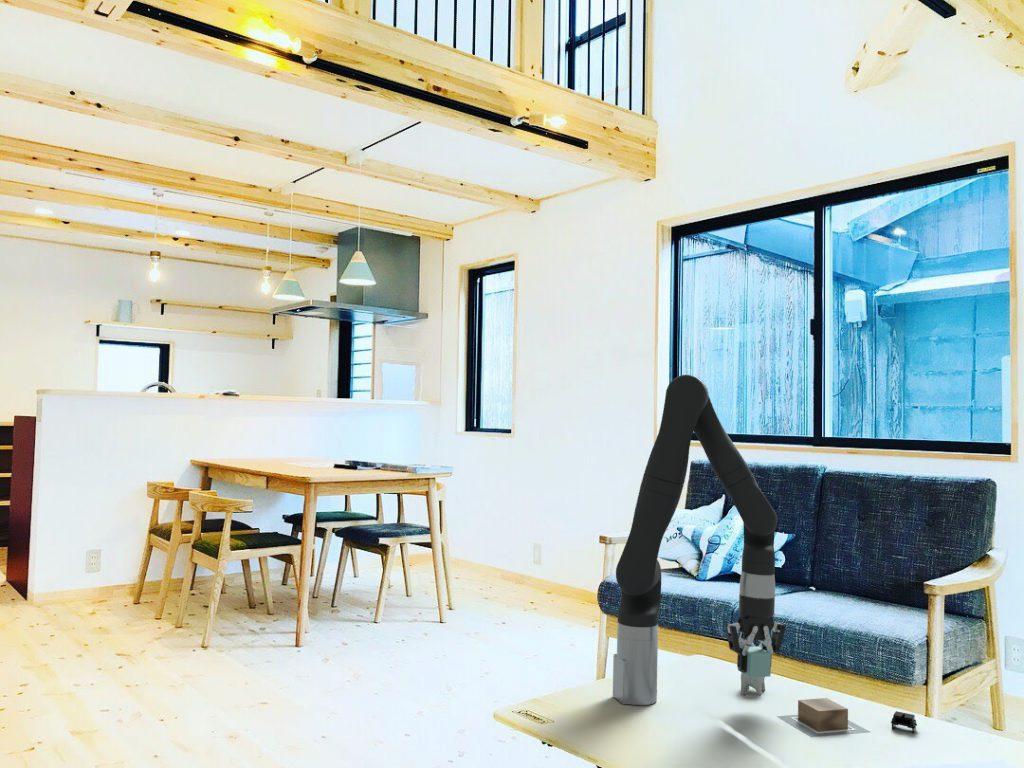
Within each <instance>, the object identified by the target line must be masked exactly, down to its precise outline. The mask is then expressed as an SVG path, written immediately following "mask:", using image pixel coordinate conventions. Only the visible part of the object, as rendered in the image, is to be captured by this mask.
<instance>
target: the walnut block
mask: <svg viewBox="0 0 1024 768" xmlns="http://www.w3.org/2000/svg"><path fill="white" fill-rule="evenodd" d="M797 715H798V720H800V721H802V722H804V723H805V724H807V725H809V726H811V727H812V728H814V729H816V730H817V731H826V730H838V729H848V720H849V708H847V707H845V706H844V705H841V704H839V703H837V702H835V701H833V700H831V699H830V698H828V697H824V698H808V699H798V700H797Z"/></svg>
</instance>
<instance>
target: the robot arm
mask: <svg viewBox="0 0 1024 768" xmlns="http://www.w3.org/2000/svg"><path fill="white" fill-rule="evenodd" d="M664 397H665V398H664V404H663V410H662V411H663V412H662V414H661V415H662V416H661V422H660V425H659V430H658V433H657V436H656V439H655V442H654V444H653V446H652V449H651V452H650V455H649V456H648V461H647V463H646V466H645V470H644V473H643V476H642V480H641V483H640V488H639V490H638V495H637V499H636V504H635V509H634V512H633V517H632V518H633V519H632V523H631V528H630V531H629V534H628V537H627V541H626V542H625V545H624V548H623V550H622V552H621V555H620V557H619V560H618V563H617V565H616V568H615V579H616V582H617V584H618V587H619V588H620V590H621V594H620V595H621V596H620V603H619V606H618V608H617V609H618V610H617V631H616V632H617V633H616V635H617V636H616V637H617V638H616V653H614V654H613V659H612V660H613V663H612V664H613V665H612V696H613V698H615V699H616V701H617V700H619V702H620V703H621V704H622V705H633V706H648V705H653V704H655V703H657V699H658V697H657V696H658V655H659V654H658V651H659V650H658V648H659V647H658V645H659V644H658V643H659V642H658V641H659V615H660V610H661V600H662V599H661V598H662V568H661V565H660V561H659V559H658V557H659V552H660V548H661V544H662V541H663V538H664V537H665V536H664V535H665V533H666V531H667V529H668V527H669V525H670V523H671V521H672V519H673V517H674V515H675V512H676V509H677V507H678V505H679V503H680V499H681V497H682V496H681V495H682V493H683V489H684V485H685V481H686V477H687V473H688V466H689V459H690V457H689V455H690V447H691V441H692V437H693V435H694V434H695V436H696V438H697V440H698V441H699V443H700V445H701V447H702V449H703V451H704V453H705V455H706V457H707V460H708V461H709V464H710V466H711V469H712V470H713V471H714V474H715V475H716V477H717V479H718V480H719V483H721V486H722V487H723V489H724V490H725V492H726V494H727V495H728V496H729V497H730V499H731V501H732V502H733V504H734V507H735V509H736V510H737V512H738V514H739V516H740V518H741V520H742V523H743V549H742V555H741V557H742V558H741V572H740V573H741V574H740V579H739V596H738V597H739V598H738V614H739V617H738V619H737V622H733V623H728V622H727V623H726V624H725V629H726V630H725V631H726V637H727V642H728V643H727V644H728V648H729V650H730V651H733V652H734V653H736V654H737V659H736V660H737V664H736V667H737V669H738V668H739V670H740V671H741V672H740V671H739V672H740V673H742V672H743V673H746V672H747V656H746V655H747V652H748V650H749V647H750V646H751V645H752V643H754V641H755V642H756V641H758V643H760V644H761V647H762V649H764V650H766V651H768V652H770V653H771V662H772V659H773V658H772V656H773V654H774V653H775V652H780V651H781V649H782V645H783V644H782V643H783V640H784V637H785V632H786V624H783V623H780V622H779V621H778V622H777V621H776V622H775V620H774V618H773V617H774V616H775V601H776V600H775V599H776V578H775V572H776V570H775V569H776V568H775V567H776V554H775V536H776V535H775V533H776V528H777V524H778V515H777V513H776V511H775V509H774V508H773V506H772V505H771V503H770V502H769V500H768V499H767V497H766V496H765V495H764V494H765V493H763V491H762V489H761V488H760V487H759V485H758V482H757V480H756V478H755V476H754V474H753V473H752V471H751V469H750V467H749V466H748V464H747V463H746V460H745V459H744V457H743V456H742V455H741V452H740V451H739V450H738V448H737V447H736V445H735V444H734V442H733V441H732V439H731V438H730V436H729V435H728V433H727V431H726V430H725V428H724V427H723V425H722V423H721V421H720V419H719V417H718V415H717V413H716V411H715V408H714V406H713V402H712V401H711V398H710V395H709V391H708V387H707V385H706V384H705V382H704V381H703V380H701V378H699V377H697V376H695V375H693V374H681V375H678V376H677V377H674V378H673V379H672V380H671V381H670V382H669V384H668V385H667V388H666V390H665V395H664ZM739 630H740V631H739ZM771 631H772V632H771ZM739 633H740V634H739ZM770 633H772V634H771V635H770ZM738 634H739V636H738ZM760 644H759V645H760Z"/></svg>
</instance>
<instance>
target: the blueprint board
mask: <svg viewBox="0 0 1024 768" xmlns="http://www.w3.org/2000/svg"><path fill="white" fill-rule="evenodd" d="M776 717H777V718H779V719H780V720H782V721H784V722H785V723H787V724H788V725H790V726H792V727H793V728H795V729H797V730H799V731H800V732H801V733H803V734H805V735H807V736H808V737H810V738H815V737H816V738H817V737H827V736H828V737H829V736H839V735H852V734H864V733H871V731H870V730H868V729H866V728H864V727H862V726H860V725H858V724H856V723H854V722H853V721H851V720H849V719H848V729H838V730H826V731H817V730H816V729H814V728H812V727H811V726H809V725H807V724H805V723H804V722H802V721H800V720H798V714H788V715H777V716H776Z"/></svg>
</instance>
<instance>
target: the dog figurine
mask: <svg viewBox="0 0 1024 768" xmlns="http://www.w3.org/2000/svg"><path fill="white" fill-rule="evenodd" d="M750 647H760V648H762V647H761V644H758V646H757V645H755V643H754V642H753V643H752V645H751V646H750ZM740 673H741V674H740V695H741V696H740V697H742V696H746V690H749V689H750V687H751V688H752V689H754V690H755V691H756V695H757V696H758V695H759V696H762V694H763V692H765V691H766V686H765V678H766V677H749V676H747V675H745V674H744V673H742V672H740ZM762 690H763V691H762Z"/></svg>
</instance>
